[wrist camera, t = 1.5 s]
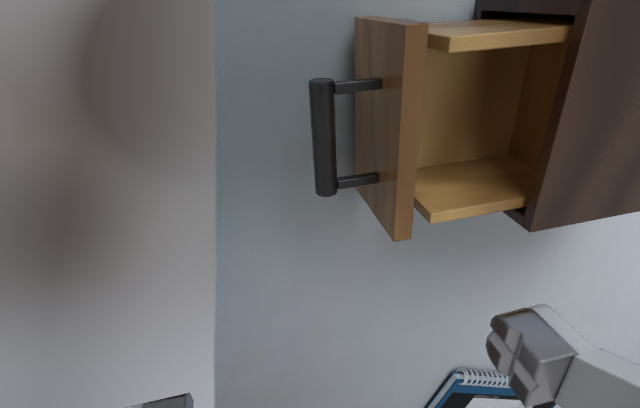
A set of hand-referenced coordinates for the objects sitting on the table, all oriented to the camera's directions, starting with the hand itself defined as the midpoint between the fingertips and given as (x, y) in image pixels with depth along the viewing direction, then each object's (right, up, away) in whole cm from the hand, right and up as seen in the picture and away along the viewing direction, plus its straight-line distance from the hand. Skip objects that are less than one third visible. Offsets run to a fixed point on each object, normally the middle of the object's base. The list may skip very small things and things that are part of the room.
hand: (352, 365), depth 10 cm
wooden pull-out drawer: (+6, +12, +18) cm, 22 cm away
